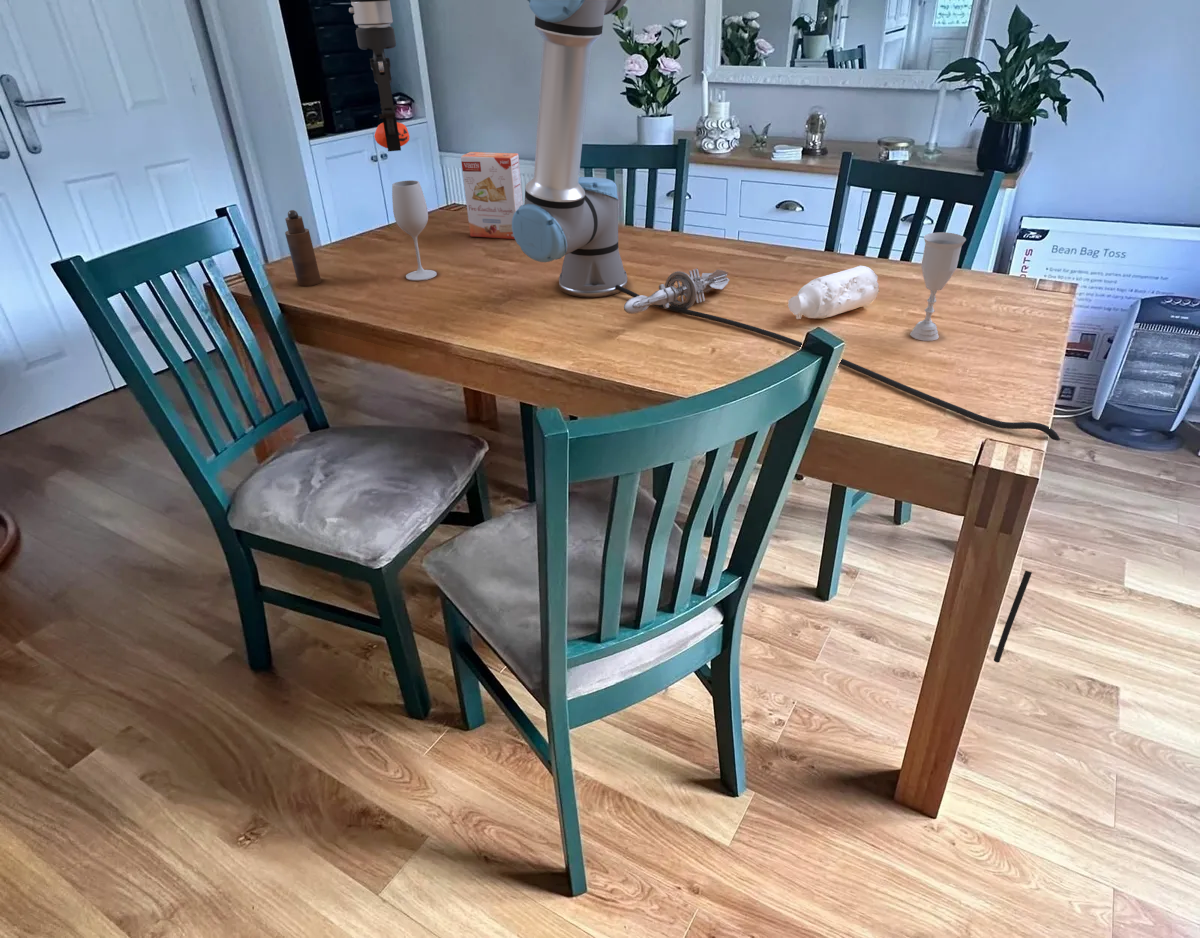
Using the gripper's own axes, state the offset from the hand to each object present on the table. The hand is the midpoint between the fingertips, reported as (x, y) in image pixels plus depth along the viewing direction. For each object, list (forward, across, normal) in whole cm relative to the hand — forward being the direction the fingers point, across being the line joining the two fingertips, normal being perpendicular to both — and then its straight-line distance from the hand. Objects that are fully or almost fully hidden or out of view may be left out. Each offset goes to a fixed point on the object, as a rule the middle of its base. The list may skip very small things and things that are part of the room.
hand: (393, 146), depth 166 cm
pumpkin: (0, 0, 0) cm, 1 cm away
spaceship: (+28, +42, +51) cm, 72 cm away
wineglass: (+29, +1, +2) cm, 29 cm away
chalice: (+28, +70, +90) cm, 117 cm away
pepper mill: (+29, -4, -24) cm, 38 cm away
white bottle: (+28, +55, +79) cm, 100 cm away
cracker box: (+29, -26, +24) cm, 45 cm away
